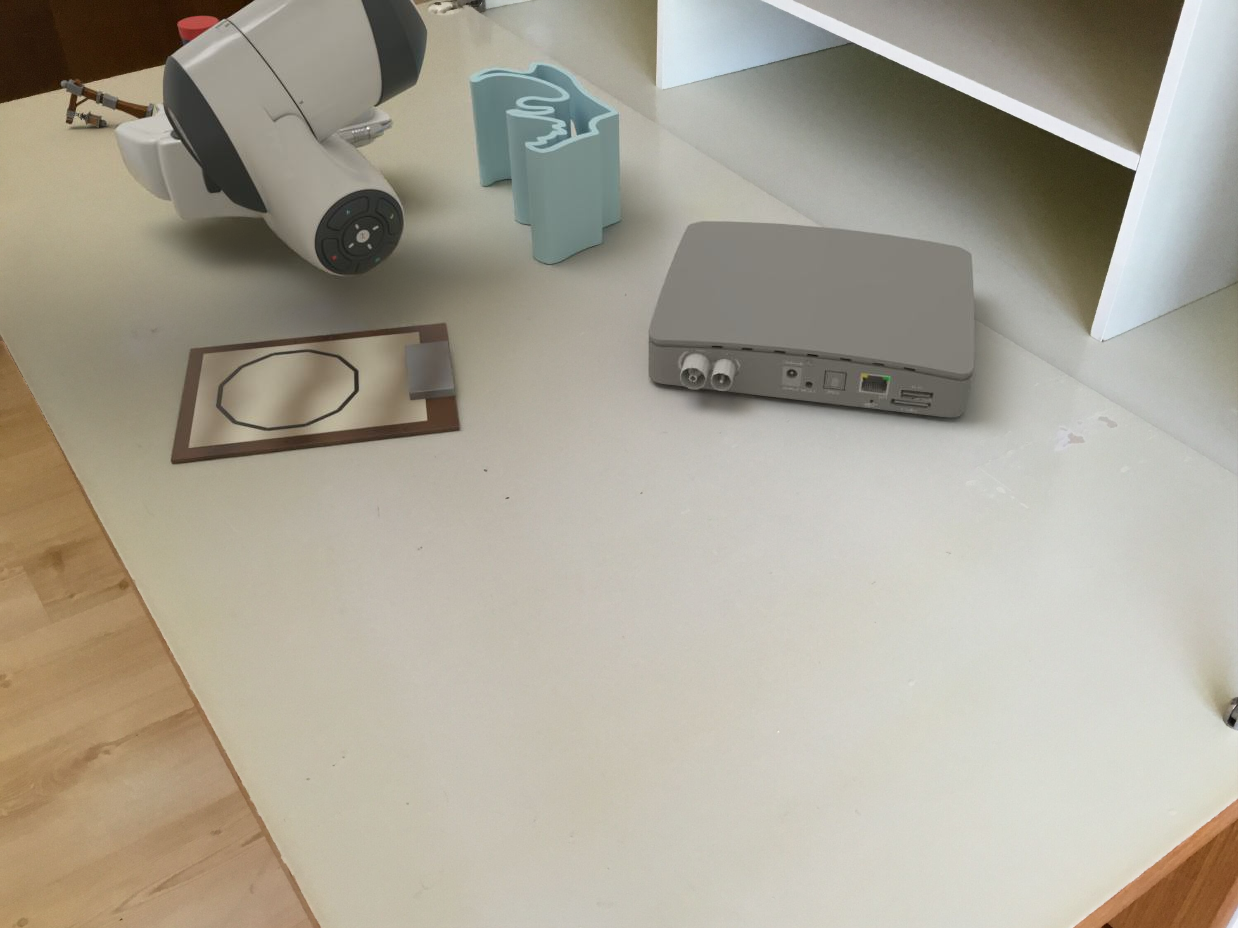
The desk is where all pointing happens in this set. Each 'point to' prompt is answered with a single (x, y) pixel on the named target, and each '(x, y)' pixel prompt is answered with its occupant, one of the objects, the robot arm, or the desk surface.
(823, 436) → the desk surface
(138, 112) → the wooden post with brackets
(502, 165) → the squiggly pen holder
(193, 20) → the marker
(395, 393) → the clipboard
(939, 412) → the electronic device
